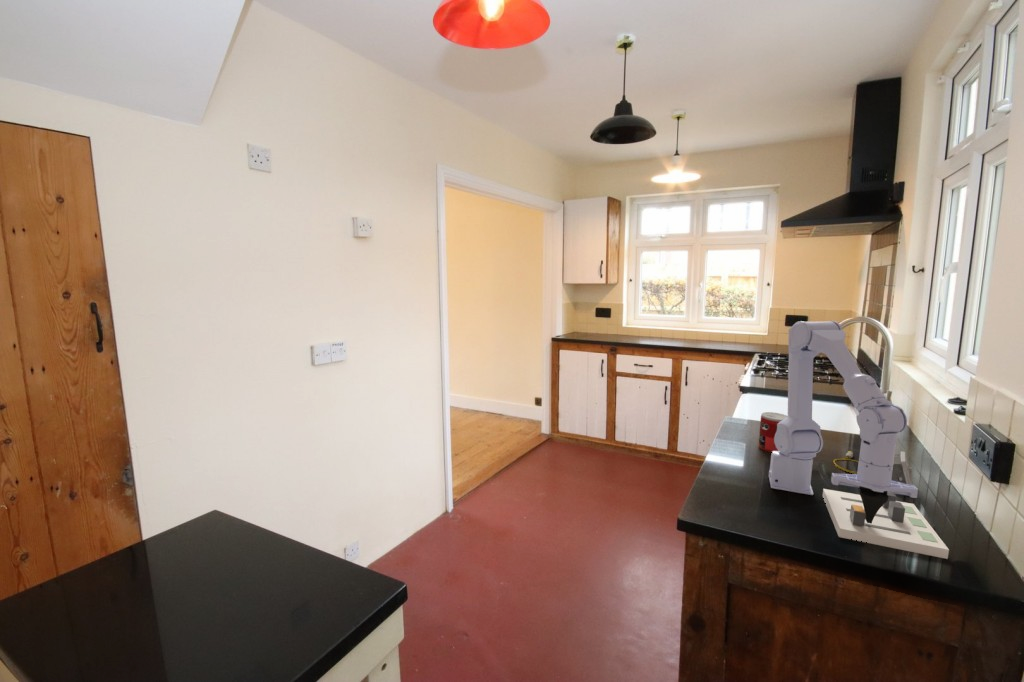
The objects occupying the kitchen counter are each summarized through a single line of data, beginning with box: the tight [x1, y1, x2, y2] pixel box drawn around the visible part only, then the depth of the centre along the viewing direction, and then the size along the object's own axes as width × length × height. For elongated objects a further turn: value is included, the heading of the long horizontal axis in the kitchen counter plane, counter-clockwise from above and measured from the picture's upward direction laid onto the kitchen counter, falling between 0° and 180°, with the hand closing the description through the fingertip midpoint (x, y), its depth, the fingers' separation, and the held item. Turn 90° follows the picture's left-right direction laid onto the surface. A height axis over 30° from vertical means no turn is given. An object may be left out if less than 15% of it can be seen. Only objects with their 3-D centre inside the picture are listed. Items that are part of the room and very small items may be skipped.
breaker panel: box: [822, 488, 950, 560], centre depth 105 cm, size 18×20×5 cm
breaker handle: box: [850, 505, 866, 526], centre depth 102 cm, size 2×3×3 cm, turn 155°
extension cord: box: [833, 450, 859, 474], centre depth 136 cm, size 12×16×2 cm
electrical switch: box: [891, 451, 914, 485], centre depth 122 cm, size 9×5×9 cm, turn 141°
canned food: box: [758, 411, 788, 453], centre depth 148 cm, size 8×8×11 cm
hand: (868, 521), depth 101 cm, fingers closed
